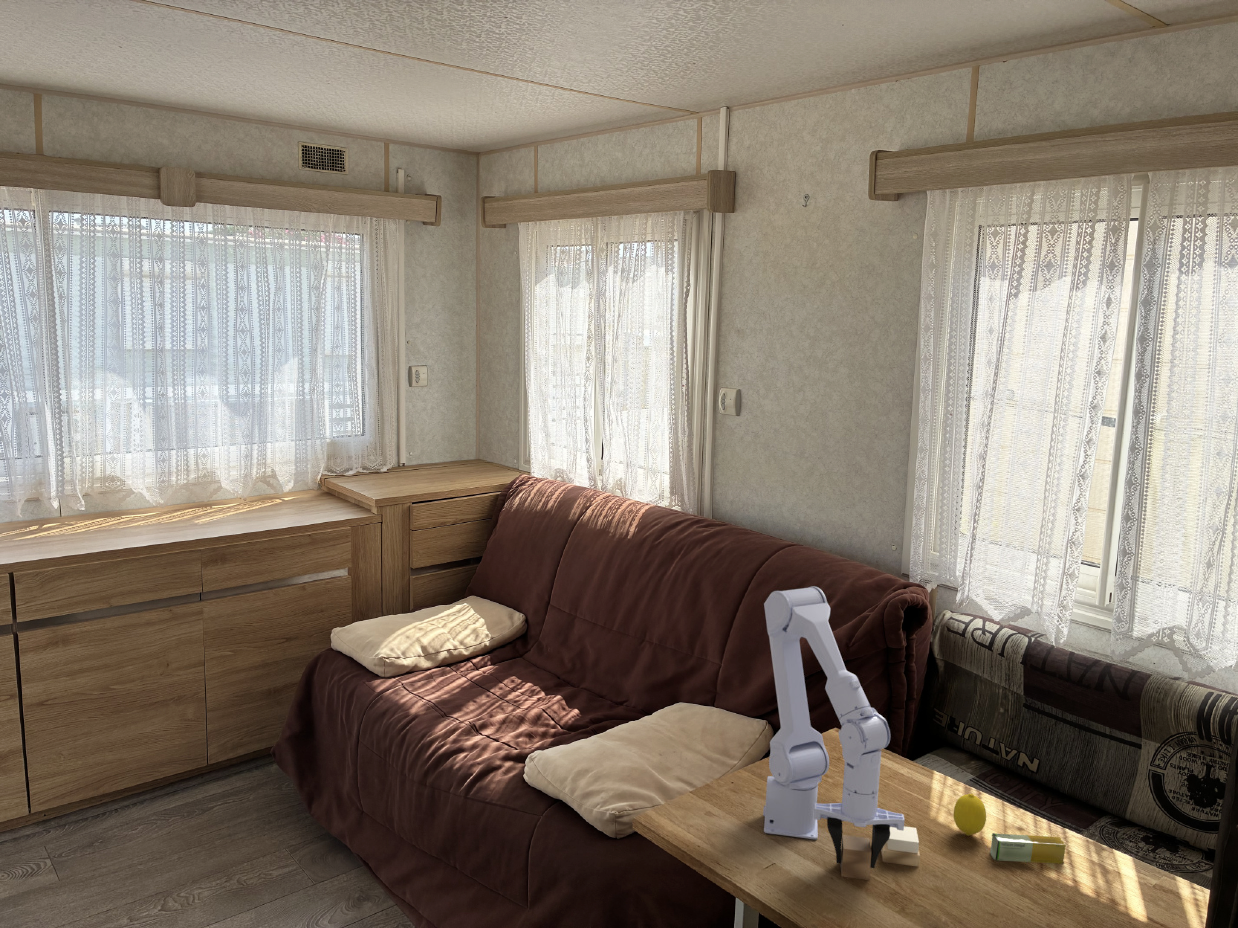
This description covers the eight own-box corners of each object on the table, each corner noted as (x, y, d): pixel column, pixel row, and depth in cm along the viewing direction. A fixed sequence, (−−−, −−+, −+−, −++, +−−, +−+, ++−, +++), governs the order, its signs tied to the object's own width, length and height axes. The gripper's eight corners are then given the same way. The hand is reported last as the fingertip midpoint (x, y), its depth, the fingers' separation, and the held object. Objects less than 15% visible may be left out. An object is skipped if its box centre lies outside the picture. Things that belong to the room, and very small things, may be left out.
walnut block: (841, 876, 154) (843, 848, 154) (840, 861, 159) (842, 834, 158) (869, 880, 154) (871, 852, 153) (867, 865, 158) (869, 837, 157)
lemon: (986, 845, 166) (990, 803, 164) (954, 840, 167) (957, 799, 166) (981, 829, 171) (984, 788, 170) (949, 825, 172) (953, 784, 171)
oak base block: (882, 864, 159) (883, 850, 159) (879, 845, 165) (880, 832, 165) (918, 869, 158) (919, 855, 158) (914, 850, 164) (915, 837, 164)
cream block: (887, 849, 159) (888, 838, 159) (885, 834, 164) (886, 823, 164) (918, 853, 158) (918, 842, 158) (915, 838, 163) (916, 827, 163)
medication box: (994, 861, 161) (996, 840, 160) (988, 852, 163) (991, 831, 163) (1064, 865, 160) (1067, 843, 160) (1057, 856, 163) (1060, 835, 162)
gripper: (816, 792, 152) (811, 869, 153) (908, 803, 149) (902, 881, 151) (816, 772, 159) (811, 846, 160) (903, 783, 156) (898, 858, 158)
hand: (855, 862), depth 156 cm, fingers open, 5 cm apart
